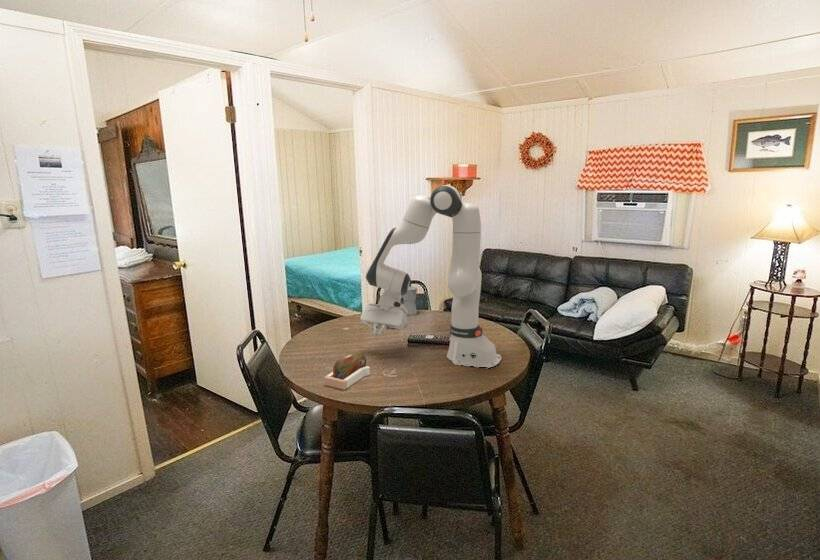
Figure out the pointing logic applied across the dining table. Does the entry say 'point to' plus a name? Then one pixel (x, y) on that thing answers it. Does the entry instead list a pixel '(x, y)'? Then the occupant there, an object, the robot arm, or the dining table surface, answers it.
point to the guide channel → (346, 379)
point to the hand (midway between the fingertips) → (377, 334)
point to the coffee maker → (410, 300)
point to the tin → (348, 365)
